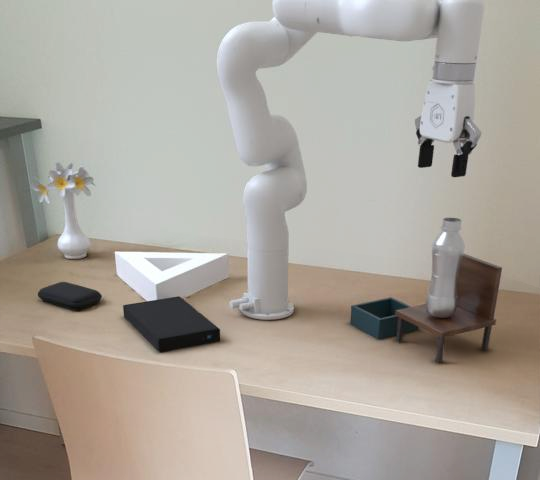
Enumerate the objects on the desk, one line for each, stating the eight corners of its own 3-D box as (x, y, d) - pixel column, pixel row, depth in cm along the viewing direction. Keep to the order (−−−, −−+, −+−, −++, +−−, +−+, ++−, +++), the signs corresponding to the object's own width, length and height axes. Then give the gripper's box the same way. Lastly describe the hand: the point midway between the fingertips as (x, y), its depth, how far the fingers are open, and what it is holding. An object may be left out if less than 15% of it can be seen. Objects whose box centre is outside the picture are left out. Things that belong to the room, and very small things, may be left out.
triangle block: (157, 310, 188) (155, 284, 185) (77, 290, 200) (74, 265, 196) (228, 277, 210) (228, 253, 206) (152, 261, 221) (151, 238, 218)
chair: (438, 364, 163) (449, 279, 153) (392, 340, 173) (400, 259, 164) (491, 350, 169) (505, 267, 160) (443, 328, 180) (454, 249, 170)
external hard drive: (180, 308, 189) (180, 296, 188) (220, 341, 172) (220, 328, 170) (124, 317, 184) (122, 305, 182) (159, 352, 166) (158, 339, 165)
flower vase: (35, 261, 220) (20, 167, 206) (79, 245, 233) (68, 156, 220) (70, 269, 214) (58, 172, 201) (113, 252, 228) (104, 161, 215)
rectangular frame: (378, 339, 174) (379, 319, 172) (349, 324, 182) (351, 305, 179) (418, 329, 179) (420, 310, 177) (389, 315, 187) (391, 296, 184)
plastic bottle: (458, 321, 164) (472, 224, 153) (426, 321, 164) (437, 223, 154) (453, 310, 170) (466, 215, 159) (421, 310, 170) (432, 215, 159)
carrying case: (109, 301, 193) (67, 289, 200) (108, 288, 192) (66, 277, 199) (77, 313, 186) (35, 300, 193) (75, 300, 184) (33, 288, 191)
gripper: (407, 69, 149) (397, 165, 158) (471, 79, 136) (457, 182, 145) (437, 68, 152) (426, 162, 161) (502, 77, 140) (486, 178, 149)
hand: (441, 171), depth 153 cm, fingers open, 9 cm apart
